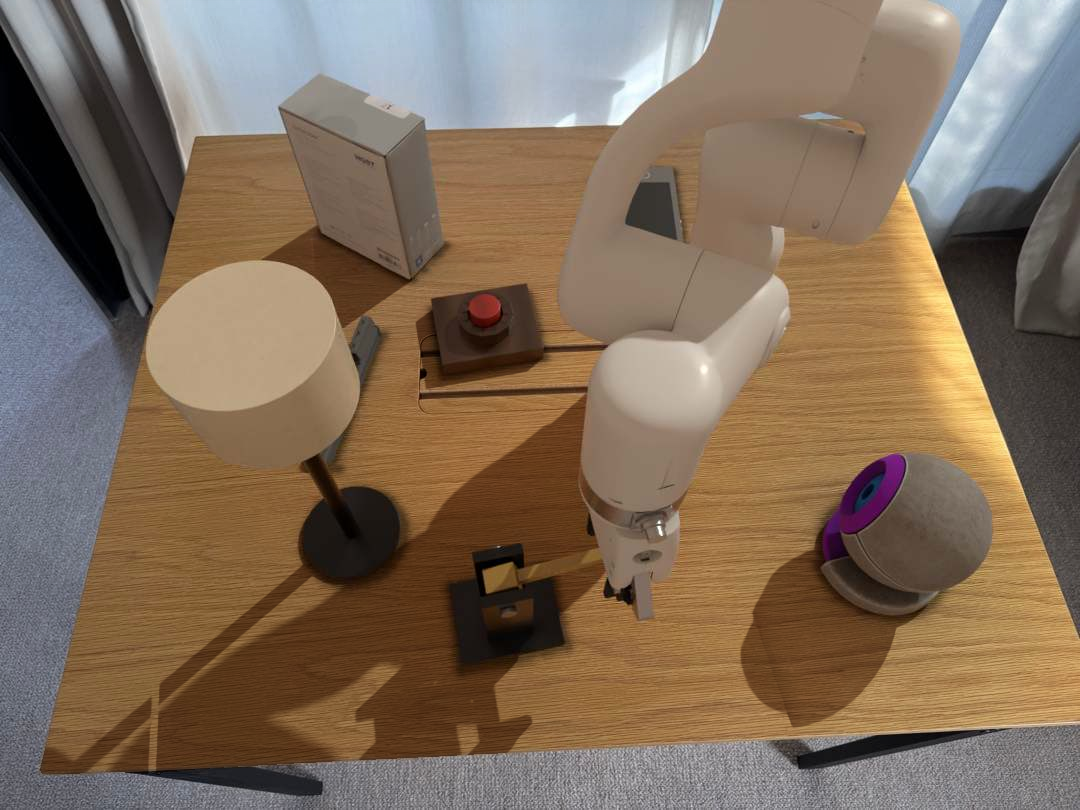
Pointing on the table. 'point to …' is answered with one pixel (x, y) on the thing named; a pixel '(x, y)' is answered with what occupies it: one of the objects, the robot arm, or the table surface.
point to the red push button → (484, 310)
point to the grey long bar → (358, 364)
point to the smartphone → (656, 204)
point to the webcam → (906, 533)
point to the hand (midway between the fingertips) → (612, 559)
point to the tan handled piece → (535, 571)
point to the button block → (487, 331)
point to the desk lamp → (273, 394)
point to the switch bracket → (504, 612)
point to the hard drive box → (366, 172)
